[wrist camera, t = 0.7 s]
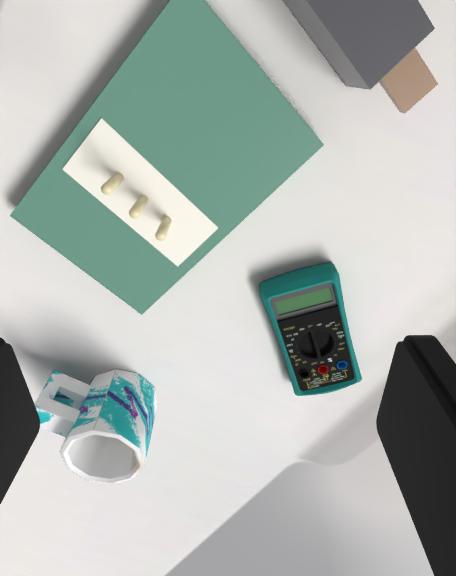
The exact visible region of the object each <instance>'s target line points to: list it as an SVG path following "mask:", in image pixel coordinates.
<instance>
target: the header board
mask: <svg viewBox="0 0 456 576" xmlns="http://www.w3.org/2000/svg"><path fill="white" fill-rule="evenodd" d="M323 145H324V144H323V143H322V142H321V141H320V140H319V138H318V137H317V136H316V135H315V133H314V132H313V131H312V130H311V129H310V127H309V126H308V125H307V124H306V123H305V121H304V120H303V119H302V118H301V116H300V115H299V114H298V113H297V112H296V110H295V109H294V108H293V107H292V106H291V104H290V103H289V102H288V101H287V100H286V98H285V97H284V96H283V95H282V93H281V92H280V91H279V90H278V89H277V87H276V86H275V85H274V84H273V83H272V81H271V80H270V79H269V78H268V76H267V75H266V74H265V73H264V72H263V70H262V69H261V68H260V67H259V66H258V64H257V63H256V62H255V61H254V59H253V58H252V57H251V56H250V55H249V53H248V52H247V51H246V50H245V49H244V47H243V46H242V45H241V44H240V42H239V41H238V40H237V39H236V38H235V36H234V35H233V34H232V33H231V32H230V30H229V29H228V28H227V27H226V25H225V24H224V23H223V22H222V21H221V19H220V18H219V17H218V16H217V15H216V13H215V12H214V11H213V10H212V9H211V7H210V6H209V5H208V4H207V2H206V1H205V0H170V1H169V2H168V4H167V5H166V6H165V8H164V9H163V10H162V12H161V13H160V14H159V16H158V17H157V19H156V20H155V21H154V23H153V24H152V25H151V27H150V28H149V29H148V31H147V32H146V33H145V35H144V36H143V37H142V39H141V40H140V41H139V43H138V44H137V45H136V47H135V48H134V49H133V51H132V52H131V53H130V55H129V56H128V58H127V59H126V60H125V62H124V63H123V64H122V66H121V67H120V68H119V70H118V71H117V72H116V74H115V75H114V76H113V78H112V79H111V80H110V82H109V83H108V84H107V86H106V87H105V88H104V90H103V91H102V92H101V94H100V95H99V97H98V98H97V99H96V101H95V102H94V103H93V105H92V106H91V107H90V109H89V110H88V111H87V113H86V114H85V115H84V117H83V118H82V119H81V121H80V122H79V123H78V125H77V126H76V127H75V129H74V130H73V132H72V133H71V134H70V136H69V137H68V138H67V140H66V141H65V142H64V144H63V145H62V146H61V148H60V149H59V150H58V152H57V153H56V154H55V156H54V157H53V158H52V160H51V161H50V162H49V164H48V165H47V166H46V168H45V169H44V171H43V172H42V173H41V175H40V176H39V177H38V179H37V180H36V181H35V183H34V184H33V185H32V187H31V188H30V189H29V191H28V192H27V193H26V195H25V196H24V197H23V199H22V200H21V201H20V203H19V204H18V206H17V207H16V208H15V210H14V211H13V212H12V214H11V215H10V216H11V217H12V218H14V219H15V220H16V221H18V222H19V223H20V224H22V225H23V226H24V227H26V228H27V229H28V230H30V231H31V232H32V233H34V234H35V235H36V236H38V237H39V238H40V239H42V240H43V241H44V242H46V243H47V244H48V245H50V246H51V247H52V248H54V249H55V250H56V251H58V252H59V253H60V254H62V255H63V256H64V257H66V258H67V259H68V260H70V261H71V262H72V263H74V264H75V265H76V266H78V267H79V268H80V269H82V270H83V271H84V272H86V273H87V274H88V275H90V276H91V277H92V278H94V279H95V280H96V281H98V282H99V283H100V284H102V285H103V286H104V287H106V288H107V289H108V290H110V291H111V292H112V293H114V294H115V295H116V296H118V297H119V298H120V299H122V300H123V301H124V302H126V303H127V304H128V305H130V306H131V307H132V308H134V309H135V310H136V311H138V312H139V313H140V314H143V313H144V312H145V311H146V310H147V309H148V308H150V307H151V306H152V305H153V304H154V303H155V302H156V301H157V300H158V299H159V298H160V297H161V296H162V295H163V294H165V293H166V292H167V291H168V290H169V289H170V288H171V287H172V286H173V285H174V284H175V283H176V282H177V281H178V280H180V279H181V278H182V277H183V276H184V275H185V274H186V273H187V272H188V271H189V270H190V269H191V268H192V267H193V266H195V265H196V264H197V263H198V262H199V261H200V260H201V259H202V258H203V257H204V256H205V255H206V254H207V253H208V252H210V251H211V250H212V249H213V248H214V247H215V246H216V245H217V244H218V243H219V242H220V241H221V240H222V239H224V238H225V237H226V236H227V235H228V234H229V233H230V232H231V231H232V230H233V229H234V228H235V227H236V226H237V225H239V224H240V223H241V222H242V221H243V220H244V219H245V218H246V217H247V216H248V215H249V214H250V213H251V212H252V211H254V210H255V209H256V208H257V207H258V206H259V205H260V204H261V203H262V202H263V201H264V200H265V199H266V198H267V197H269V196H270V195H271V194H272V193H273V192H274V191H275V190H276V189H277V188H278V187H279V186H280V185H281V184H282V183H284V182H285V181H286V180H287V179H288V178H289V177H290V176H291V175H292V174H293V173H294V172H295V171H296V170H298V169H299V168H300V167H301V166H302V165H303V164H304V163H305V162H306V161H307V160H308V159H309V158H310V157H311V156H313V155H314V154H315V153H316V152H317V151H318V150H319V149H320V148H321V147H322V146H323Z"/></svg>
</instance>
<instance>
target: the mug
mask: <svg viewBox="0 0 456 576" xmlns="http://www.w3.org/2000/svg"><path fill="white" fill-rule="evenodd" d="M34 405H35V407H36V410H37V413H38V415H39V418H40V427H41V428H43V429H46V430H48V431H51V432H54V433H56V434H59V435H62V436H64V437H66V438H65V440H64V443H63V445H62V447H61V449H60V454H61V456H62V458H63V461H64V463H65V465H66V468H67V469H69V470H71V471H72V472H74V473H76V474H77V475H79V476H80V477H82V478H84V479H85V480H88V481H95V482H101V483H108V484H114V483H118V482H122V481H126V480H130V479H133V478H134V477H135V476H136V475H137V474H138V473H139V471H140V470H141V469H142V468H143V467H144V465H145V461H146V456H147V451H148V447H149V442H150V437H151V433H152V428H153V423H154V419H155V414H156V409H157V405H158V400H157V395H156V390H155V386H153V385H152V384H151V383H150V382H149V381H147V380H146V379H145V378H144V377H142V376H141V375H140V374H139V373H133V372H128V371H123V370H118V369H114V370H111V371H108V372H105V373H102V374H98V375H96V376H95V378H94V379H93V381H92V382H91V384H90V385H88V384H86V383H84V382H81V381H79V380H77V379H74V378H72V377H70V376H67V375H65V374H63V373H60V372H58V371H55V370H54V371H53V373H52V375H51V376H50V378H49V380H48V381H47V383H46V385H45V387H44V388H43V390H42V392H41V394H40V395H39V397H38V399H37V400H36V402H35V404H34Z"/></svg>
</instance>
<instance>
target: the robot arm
mask: <svg viewBox="0 0 456 576" xmlns="http://www.w3.org/2000/svg"><path fill="white" fill-rule="evenodd" d="M376 424H377V431H378V434H379V437H380V439H381V441H382V444H383V447H384V449H385V452H386V454H387V457H388V459H389V462H390V464H391V467H392V469H393V472H394V474H395V477H396V480H397V482H398V485H399V487H400V490H401V492H402V495H403V497H404V500H405V502H406V505H407V507H408V510H409V512H410V515H411V518H412V520H413V522H414V525H415V528H416V530H417V533H418V535H419V538H420V540H421V543H422V545H423V548H424V550H425V553H426V556H427V558H428V561H429V563H430V566H431V568H432V571H433V573H434V576H456V364H455V362H454V361H453V360H452V358H451V357H450V356H449V354H448V353H447V352H446V350H445V349H444V348H443V346H442V345H441V344H440V342H439V341H438V340H437V338H435V337H434V336H432V335H408V336H406V337H405V338H404V340H403V342H398V343H397V345H396V348H395V352H394V355H393V359H392V363H391V367H390V370H389V374H388V378H387V382H386V385H385V389H384V393H383V396H382V400H381V404H380V408H379V411H378V415H377V420H376ZM39 428H40V418H39V415H38V413H37V410H36V407H35V405H34V402H33V400H32V397H31V395H30V392H29V389H28V387H27V384H26V382H25V379H24V377H23V374H22V371H21V369H20V366H19V364H18V361H17V358H16V356H15V353H14V351H13V348H12V346H11V345H10V344H8V343H6V342H5V341H4V340H3V339H2V338H0V504H1V502H2V500H3V498H4V496H5V494H6V493H7V491H8V489H9V487H10V485H11V483H12V481H13V479H14V478H15V476H16V474H17V472H18V470H19V468H20V466H21V464H22V462H23V461H24V459H25V457H26V455H27V453H28V451H29V449H30V447H31V445H32V444H33V442H34V440H35V438H36V436H37V434H38V432H39Z"/></svg>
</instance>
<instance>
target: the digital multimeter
mask: <svg viewBox="0 0 456 576" xmlns="http://www.w3.org/2000/svg"><path fill="white" fill-rule="evenodd" d="M333 286H334V287H333ZM260 295H261V298H262V301H263V303H264V306H265V308H266V311H267V313H268V316H269V318H270V320H271V323H272V325H273V328H274V330H275V333H276V336H277V339H278V341H279V344H280V347H281V350H282V352H283V356H284V359H285V362H286V365H287V369H288V372H289V375H290V379H291V382H292V386H293V389H294V393H295V395H297V396H303V395H316V394H324V393H329V392H333V391H337V390H340V389H342V388H345V387H348V386H350V385H353V384H355V383H357V382H360V381H361V380H362V377H361V374H360V370H359V367H358V363H357V360H356V356H355V352H354V349H353V345H352V341H351V337H350V333H349V328H348V323H347V318H346V313H345V308H344V302H343V296H342V290H341V284H340V278H339V274H338V272H337V270H336V268H335V266H334V264H333V263H325V264H320V265H315V266H310V267H306V268H302V269H298V270H295V271H291V272H288V273H285V274H282V275H279V276H276V277H274V278H271V279H269V280H266V281H263V282H262V283H260ZM298 352H299V353H298ZM296 379H297V380H296ZM297 382H298V383H297Z"/></svg>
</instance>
